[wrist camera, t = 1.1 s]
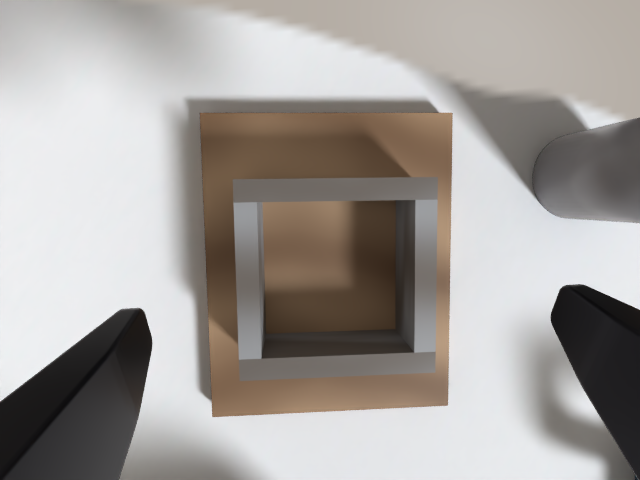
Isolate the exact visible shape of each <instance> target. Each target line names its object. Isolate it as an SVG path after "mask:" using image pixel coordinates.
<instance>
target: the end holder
mask: <svg viewBox="0 0 640 480" xmlns="http://www.w3.org/2000/svg"><path fill="white" fill-rule="evenodd" d="M200 129H201V153H202V177H203V202H204V226H205V250H206V274H207V298H208V322H209V346H210V370H211V394H212V417H223V416H243V415H263V414H284V413H304V412H324V411H345V410H365V409H385V408H406V407H426V406H446V405H448V368H449V304H450V240H451V177H452V113H200Z"/></svg>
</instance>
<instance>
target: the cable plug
mask: <svg viewBox="0 0 640 480" xmlns="http://www.w3.org/2000/svg"><path fill="white" fill-rule="evenodd" d="M533 187H534V191H535V194H536V196H537V199H538V200H539V202H540V203H541V205H542V206H543V207H544V208H545V209H546V210H547V211H549V212H550V213H552V214H554V215H556V216H558V217H561V218H568V219H583V220H599V221H614V222H630V223H640V118H635V119H631V120H627V121H623V122H619V123H615V124H610V125H606V126H602V127H598V128H594V129H589V130H585V131H581V132H577V133H573V134H569V135H564V136H561V137H559V138H557V139H555V140H553V141H552V142H551V143H549V144H548V145H547V146H546V147H545V148H544V149H543V150H542V152H541V153H540V155H539V156H538V158H537V160H536V163H535V166H534V170H533Z"/></svg>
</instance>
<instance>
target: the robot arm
mask: <svg viewBox="0 0 640 480" xmlns="http://www.w3.org/2000/svg"><path fill="white" fill-rule="evenodd" d="M551 323H552V326H553V328H554V330H555V332H556V334H557V336H558V338H559V340H560V342H561V345H562V347H563V349H564V351H565V353H566V355H567V357H568V359H569V361H570V363H571V365H572V367H573V370H574V372H575V374H576V376H577V378H578V380H579V382H580V384H581V385H582V387H583V389H584V391H585V393H586V394H587V396H588V398H589V399H590V401H591V403H592V404H593V406H594V408H595V409H596V411H597V412H598V414H599V416H600V417H601V419H602V421H603V422H604V424H605V426H606V427H607V429H608V431H609V432H610V434H611V435H612V437H613V439H614V440H615V442H616V444H617V445H618V447H619V449H620V450H621V452H622V454H623V455H624V457H625V459H626V460H627V462H628V463H629V465H630V467H631V468H632V470H633V472H634V473H635V475H636V477H637V478H638V480H640V310H639V309H637V308H634V307H632V306H630V305H628V304H625V303H623V302H621V301H619V300H617V299H614V298H612V297H610V296H608V295H605V294H603V293H601V292H599V291H597V290H594V289H592V288H590V287H588V286H585V285H581V284H578V285H565V286H563V287H562V288H561V289H560V291H559V293H558V296H557V299H556V301H555V304H554V307H553V309H552V312H551ZM151 351H152V337H151V333H150V330H149V326H148V323H147V319H146V316H145V313H144V311H143V310H142V309H140V308H129V309H121V310H119V311H118V312H116V313H115V314H114V315H112V316H111V317H110V318H109V319H107V320H106V321H105V322H103V323H102V324H101V325H99V326H98V327H97V328H96V329H94V330H93V331H92V332H90V333H89V334H88V335H86V336H85V337H84V338H83V339H81V340H80V341H79V342H77V343H76V344H75V345H73V346H72V347H71V348H70V349H68V350H67V351H66V352H64V353H63V354H62V355H60V356H59V357H58V358H56V359H55V360H54V361H53V362H51V363H50V364H49V365H47V366H46V367H45V368H43V369H42V370H41V371H40V372H38V373H37V374H36V375H34V376H33V377H32V378H30V379H29V380H28V381H27V382H25V383H24V384H23V385H21V386H20V387H19V388H17V389H16V390H15V391H14V392H12V393H11V394H10V395H8V396H7V397H6V398H4V399H3V400H2V401H0V480H119V478H120V475H121V472H122V468H123V465H124V462H125V459H126V456H127V453H128V449H129V446H130V443H131V440H132V437H133V434H134V430H135V427H136V424H137V420H138V416H139V412H140V407H141V402H142V397H143V392H144V387H145V382H146V377H147V371H148V366H149V361H150V356H151Z"/></svg>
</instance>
